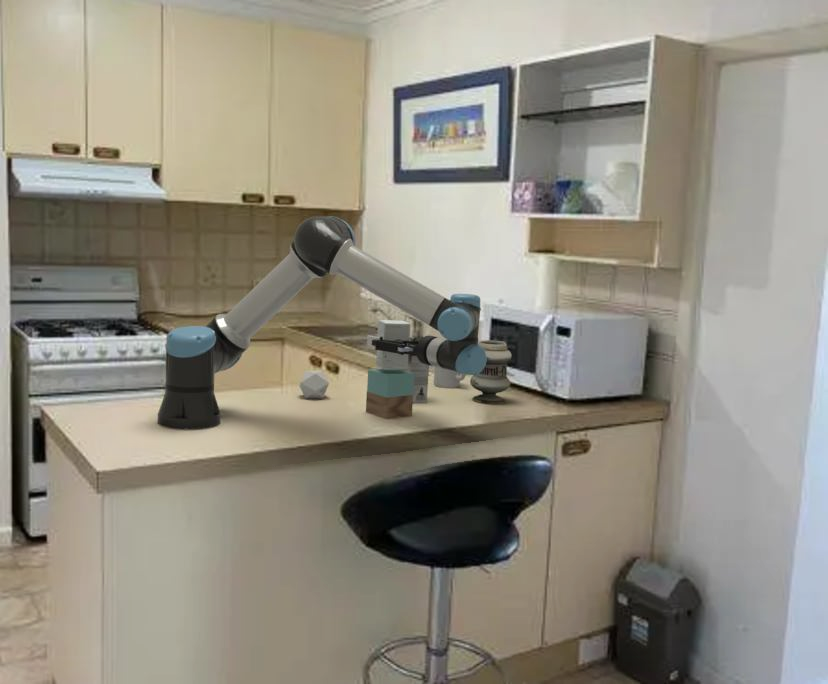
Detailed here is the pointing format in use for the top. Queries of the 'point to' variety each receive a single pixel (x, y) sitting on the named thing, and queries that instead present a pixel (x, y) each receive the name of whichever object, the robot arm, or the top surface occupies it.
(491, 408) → the top surface
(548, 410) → the top surface
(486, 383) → the apothecary jar
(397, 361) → the supplement box
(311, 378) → the die
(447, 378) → the mug
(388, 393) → the block upper
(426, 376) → the coffee box
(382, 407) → the block lower
